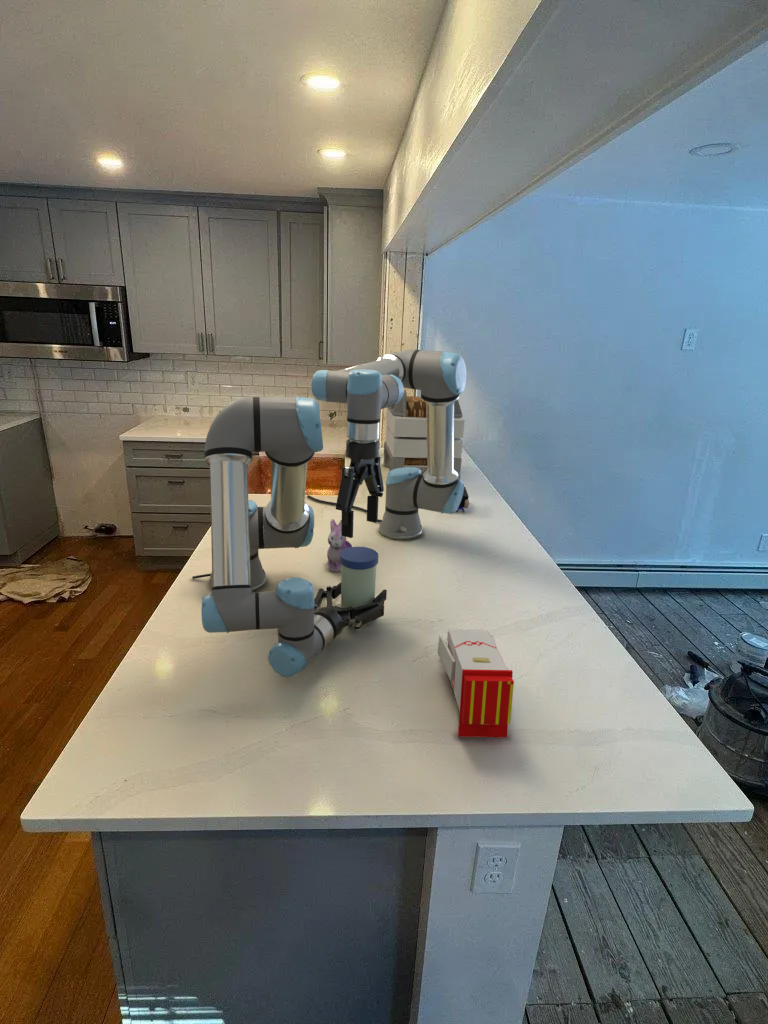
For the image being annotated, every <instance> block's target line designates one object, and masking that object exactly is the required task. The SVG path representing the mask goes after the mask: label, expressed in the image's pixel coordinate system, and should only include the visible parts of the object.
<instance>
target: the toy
mask: <svg viewBox="0 0 768 1024" xmlns="http://www.w3.org/2000/svg"><path fill="white" fill-rule="evenodd" d="M446 640H447V643H446V641H445V639H444V636H443V635H442V634H439V637H438V646H437V656H438V657H439V659H440V661H441V663H442V666H443V668H444V670H445V672H446V674H447V677H448V679H449V681H450V684H451V687H452V690H453V693H454V697H455V701H456V705H457V708H458V711H459V714H458V715H459V716H458V730H457V731H458V732H457V737H458V738H508V731H509V726H510V725H511V717H512V707H513V697H514V696H513V695H514V684H515V680H514V679H513V673H514V671H513V670H512V669H508V667H507V665H506V662H505V661H504V659H503V658H502V655H501V653H500V651H499V649H498V647H497V643H496V639H495V637H494V635H493V634H491V632H490V631H489V629H467V628H466V629H465V628H463V629H461V628H460V629H459V628H448V630H447V639H446Z"/></svg>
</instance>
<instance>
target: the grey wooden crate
mask: <svg viewBox="0 0 768 1024" xmlns="http://www.w3.org/2000/svg"><path fill="white" fill-rule="evenodd" d="M407 394H408V393H407V390H406V389H404V394H403V397H402V399H401V400H400V401H399V402H398V403H397V404H395V405H394V406H392V407H387V408H386V413H385V414H386V415H385V423H386V428H385V438H384V442H383V466H384V467H388V468H389V472H390V471H391V470H393V469H397V468H403V467H405V466H406V467H417V466H418V467H427V422H426V402H424V401H423V400H422V399H421V396H415V395H414V396H413V395H412V396H411V395H407ZM464 429H465V419H464V418H463V411H462V408H461V405H460V402H459V398H458V399H457V400H456V401H455V402H454V470H455V471H457V473H458V480H461V472H462V461H463V460H462V453H463V442H464V441H463V440H462V439H463V438H464V431H465V430H464Z"/></svg>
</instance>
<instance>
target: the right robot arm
mask: <svg viewBox="0 0 768 1024" xmlns="http://www.w3.org/2000/svg"><path fill="white" fill-rule="evenodd" d="M466 381H467V366H466V363H465V360H464V358H463V357H462V355H461V354H459V353H457V352H451V351H446V350H444V351H443V350H441V351H440V350H428V349H427V350H426V349H404V350H399V351H394V352H390V353H387V354H384V355H381V356H380V357H378V358H377V360H373V361H370V362H367V363H362V364H358V365H354V366H351V367H347V368H342V369H338V370H330V369H320V370H316V372H315V373H314V374H313V376H312V378H311V384H310V386H311V388H310V389H311V393H312V395H313V398H314V399H315V400H316V401H322V402H326V403H336V404H337V403H338V404H345V405H346V424H345V426H346V438H347V440H346V442H345V451H346V452H345V453H346V455H347V456H348V457H347V458H349V459H350V463H349V466H342V468H341V479H340V484H339V487H338V488H339V489H338V494H337V497H336V502H333V501H328V500H322V499H318V498H316V497H313V496H312V495H309V494H307V496H306V497H307V498H308V499H309V500H311V501H312V500H313V501H314V502H318V503H320V504H325V505H332V506H335V510H337V511H341V520H342V521H341V520H340V521H341V522H342V531H341V536H345V537H346V538H349V539H352V538H354V512H355V511H354V510H357V511H362V512H365V513H366V522H370V523H374V524H377V523H379V526H378V533H379V534H380V535H381V536H382V537H385V538H387V539H389V540H395V541H410V540H415V539H418V538H420V537H421V536H422V535H423V525H422V524H421V518H420V515H419V510H424V511H430V512H437V513H440V514H447V515H452V514H455V513H457V512H456V510H457V511H458V507H459V505H460V502H461V499H462V496H463V492H464V487H465V482H464V481H463V480H461V479H460V480H458V473H457V471H455V470H454V402H455V401H456V400H457V399H458V400H459V398H460V395H461V394H463V393H464V391H465V389H466V385H467V382H466ZM405 389H409V390H415V391H416V390H417V391H420V397H421V399H422V400H423V401H424V402H426V422H427V466H426V467H427V469H426V470H424V472H423V474H422V470H421V468H419V467H416V466H406V467H405V466H404V467H403V468H397V469H393V470H391V471H390V470H389V471H388V473H387V475H386V482H385V488H384V481H383V474H382V467H381V461H382V459H381V458H382V457H380V456H379V454H380V442H379V439H380V432H381V431H380V430H381V429H380V428H381V427H380V426H381V410H383V409H387V407H392V406H394V405H395V404H397V403H398V402H399V401H400V400H401V399H402V397H403V394H404V390H405ZM346 455H345V456H346ZM363 482H364V483H365V486H366V488H367V491H368V494H369V495H367V501H366V508H363V507H359V506H356V505H354V504H355V500H356V497H357V495H358V491H359V489H360V486H361V485H363ZM384 490H385V491H384ZM383 492H385V504H384V505H385V507H384V508H385V509H384V513H383V515H382V519H379V498H382V497H383V496H384V493H383ZM352 509H354V510H352Z"/></svg>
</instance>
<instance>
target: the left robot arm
mask: <svg viewBox="0 0 768 1024" xmlns="http://www.w3.org/2000/svg"><path fill="white" fill-rule="evenodd" d="M323 440H324V439H323V431H322V422H321V411H320V404H319V402H318V400H317V399H316V398H314V397H313V398H312V397H304V396H303V397H302V396H299V395H298V396H250V395H249V396H243V397H239V398H236V399H234V400H233V401H231V402H229V403H228V404H226V405H225V406H224V407H223V408H222V409H221V410H220V411H219V412H218V414H216V416H215V418H214V419H213V421H212V423H211V424H210V426H209V429H208V432H207V434H206V438H205V442H204V462H205V464H207V466H209V481H210V482H209V486H210V487H209V488H210V489H209V490H210V533H211V534H210V536H211V537H210V539H211V540H210V541H211V542H210V543H211V573H204V574H198V575H193V576H191V578H192V580H195V579H200V578H207V577H209V585H210V588H211V589H212V590H211V593H210V594H206V595H204V596H203V597H202V599H201V625H202V629H203V630H204V631H205V632H206V633H211V634H212V633H226V634H228V633H233V632H243V631H245V632H246V631H254V630H255V631H256V630H257V631H258V630H273V629H274V630H275V629H277V642H275V643H274V645H273V646H272V647H271V648H270V649H269V652H268V654H267V659H268V663H269V666H270V667H271V669H272V670H273V671H274V673H276V674H278V675H279V676H281V677H284V678H293V677H295V676H296V675H298V674H299V673H300V672H301V671H302V670H304V669H305V668H307V666H308V665H309V664H310V663H311V662H312V661H313V660H314V659H315V658H316V657H317V656H318V655H319V654H320V653H321V652H323V650H324V649H325V648H326V647H328V645H329V644H331V643H332V641H334V640H335V639H336V638H337V637H338V636H339V635H340V634H341V633H342V631H343V630H344V628H347V627H349V626H353V627H354V630H356V631H359V630H360V629H361V628H362V627H364V626H366V625H365V624H367V623H369V622H371V621H372V622H373V621H376V620H378V619H380V618H382V617H384V615H385V602H386V600H387V595H388V591H387V590H388V589H382V591H381V592H380V593H378V595H377V596H375V598H374V599H373V603H370V604H366V605H362V606H358V607H354V608H353V607H348V608H341V606H339V605H334V603H333V600H336V599H337V598H338V597H339V596H341V581H340V582H339V583H337V585H333V586H329V585H328V586H326V590H325V589H324V588H319V589H318V591H317V592H316V595H315V588H314V586H313V584H312V582H310V581H309V580H308V579H305V578H302V577H289V578H287V579H282V580H281V581H280V582H278V584H277V585H276V589H275V590H272V591H271V590H270V591H258V590H260V589H261V588H263V587H264V586H265V585H266V582H267V575H266V571H265V570H264V567H263V565H262V562H261V559H260V556H259V550H264V549H265V550H267V549H268V550H269V549H287V548H288V549H290V548H292V549H293V548H294V549H299V548H303V547H308V546H309V545H311V543H312V541H313V537H314V533H315V532H314V529H315V513H314V508H313V507H312V506H311V505H308V504H307V502H306V489H307V477H308V465H309V464H308V463H309V462H310V461H312V459H313V458H314V456H315V454H316V453H318V452H322V451H323V450H324V442H323ZM253 452H254V453H264V454H265V456H266V457H267V459H268V460H270V501H268V503H267V504H266V506H258V504H257V502H256V501H254V500H252V499H250V500H249V478H248V477H249V475H248V470H249V469H248V467H249V466H250V465H251V463H253ZM324 599H325V600H326V606H322V607H321V605H322V603H323V601H324ZM349 612H350V615H349ZM372 622H371V623H372ZM369 624H370V623H369ZM367 625H368V624H367Z"/></svg>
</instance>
